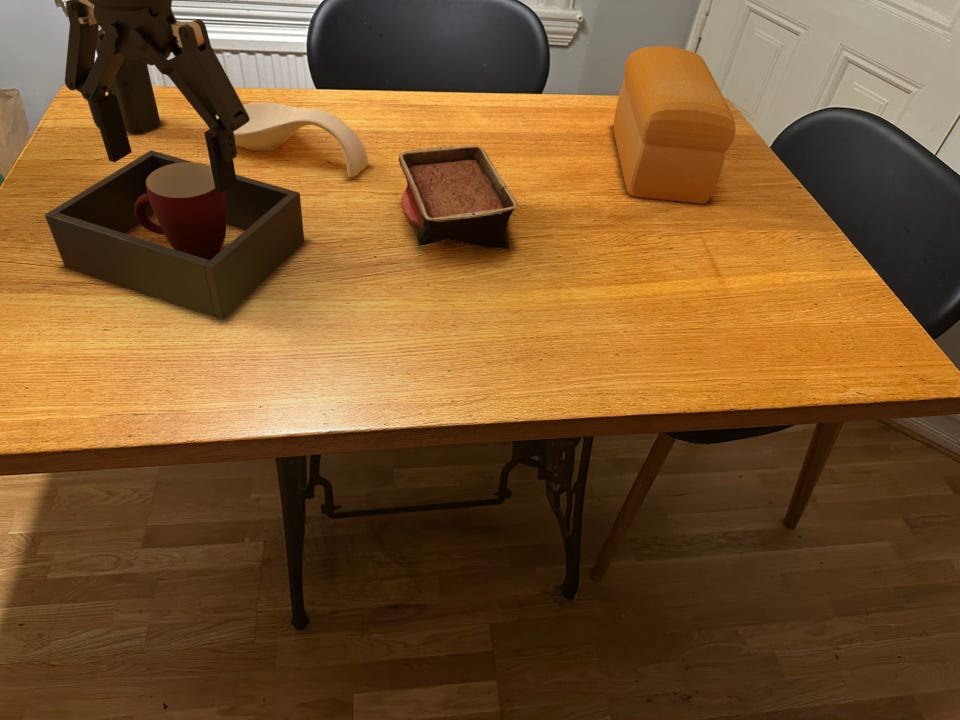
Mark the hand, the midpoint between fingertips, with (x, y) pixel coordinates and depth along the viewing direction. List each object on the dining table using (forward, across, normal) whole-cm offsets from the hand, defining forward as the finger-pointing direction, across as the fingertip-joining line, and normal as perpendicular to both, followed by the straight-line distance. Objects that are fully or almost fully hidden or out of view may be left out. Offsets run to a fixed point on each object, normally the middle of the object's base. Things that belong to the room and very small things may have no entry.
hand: (172, 171), depth 76 cm
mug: (+11, 0, 0) cm, 11 cm away
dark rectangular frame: (+11, 0, 0) cm, 11 cm away
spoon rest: (+11, -3, +28) cm, 30 cm away
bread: (+12, +48, +54) cm, 73 cm away
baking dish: (+11, +26, +21) cm, 35 cm away
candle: (+11, -27, +24) cm, 38 cm away
